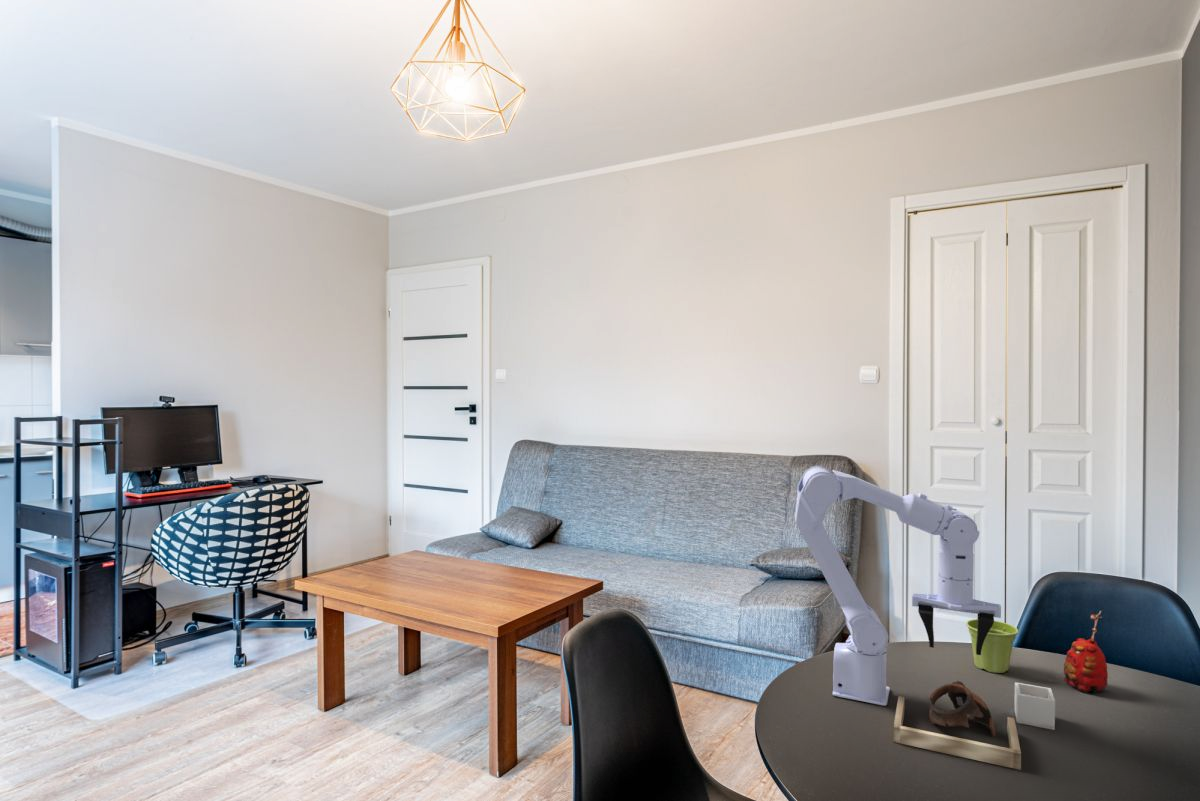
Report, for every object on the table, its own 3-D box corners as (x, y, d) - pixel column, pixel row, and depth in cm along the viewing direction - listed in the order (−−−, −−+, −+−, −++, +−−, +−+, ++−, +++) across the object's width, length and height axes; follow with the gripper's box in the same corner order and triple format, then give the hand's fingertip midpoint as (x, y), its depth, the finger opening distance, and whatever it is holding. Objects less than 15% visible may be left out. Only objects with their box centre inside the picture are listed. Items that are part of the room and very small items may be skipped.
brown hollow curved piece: (1005, 749, 112) (982, 708, 111) (947, 762, 115) (924, 722, 115) (990, 699, 123) (969, 662, 122) (937, 712, 126) (916, 676, 126)
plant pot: (958, 657, 148) (959, 617, 148) (1005, 659, 147) (1005, 619, 146) (976, 675, 139) (976, 633, 138) (1026, 678, 137) (1026, 635, 137)
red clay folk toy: (1055, 677, 138) (1057, 603, 137) (1092, 679, 137) (1094, 604, 137) (1078, 695, 130) (1080, 616, 130) (1118, 696, 129) (1119, 618, 129)
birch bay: (893, 741, 113) (893, 726, 113) (898, 709, 124) (898, 696, 124) (1020, 769, 105) (1021, 753, 105) (1014, 732, 116) (1014, 718, 116)
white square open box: (1017, 722, 119) (1017, 694, 119) (1014, 709, 124) (1014, 682, 124) (1054, 730, 117) (1055, 701, 117) (1050, 716, 122) (1050, 688, 122)
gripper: (911, 576, 126) (910, 649, 127) (1002, 587, 120) (1001, 664, 120) (913, 567, 133) (912, 637, 133) (1000, 577, 126) (998, 650, 126)
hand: (954, 649), depth 127 cm, fingers open, 7 cm apart
